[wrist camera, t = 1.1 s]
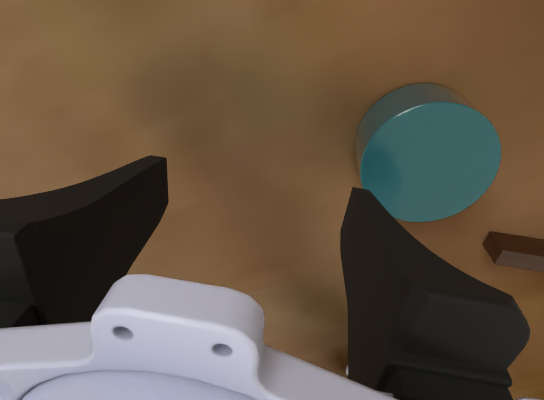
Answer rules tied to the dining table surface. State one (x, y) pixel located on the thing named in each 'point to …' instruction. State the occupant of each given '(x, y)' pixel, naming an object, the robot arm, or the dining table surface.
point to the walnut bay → (515, 251)
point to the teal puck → (426, 152)
